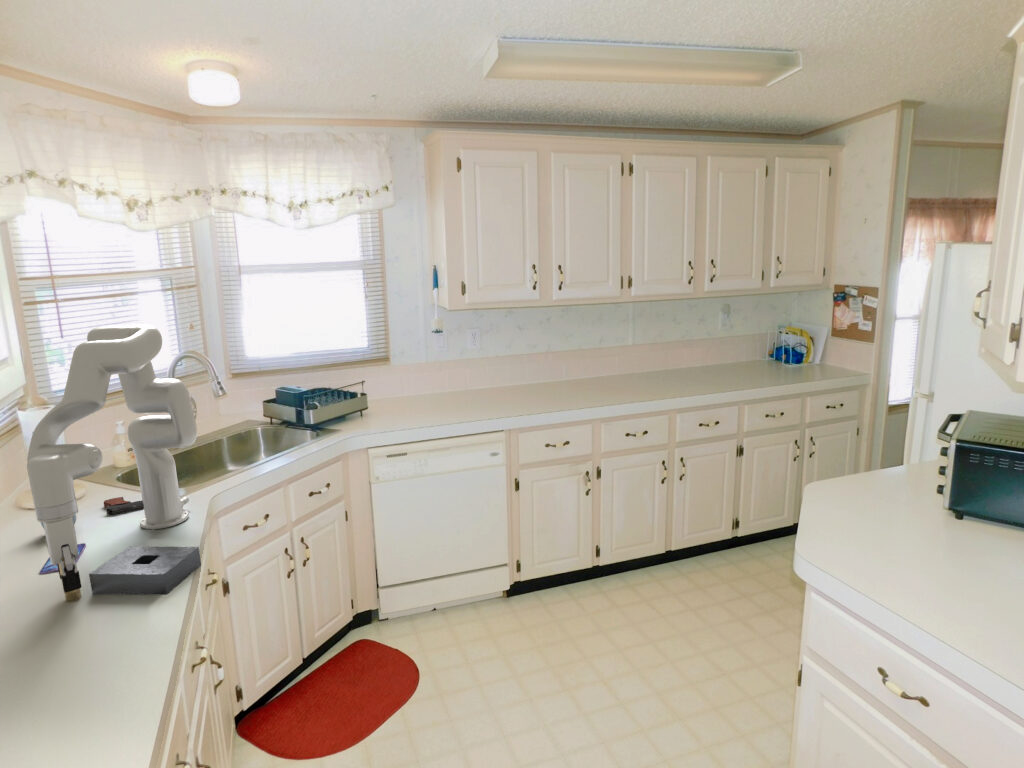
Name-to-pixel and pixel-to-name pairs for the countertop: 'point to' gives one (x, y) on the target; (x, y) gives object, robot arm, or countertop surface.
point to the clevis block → (145, 570)
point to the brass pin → (73, 594)
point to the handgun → (121, 505)
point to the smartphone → (51, 568)
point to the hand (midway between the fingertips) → (70, 582)
